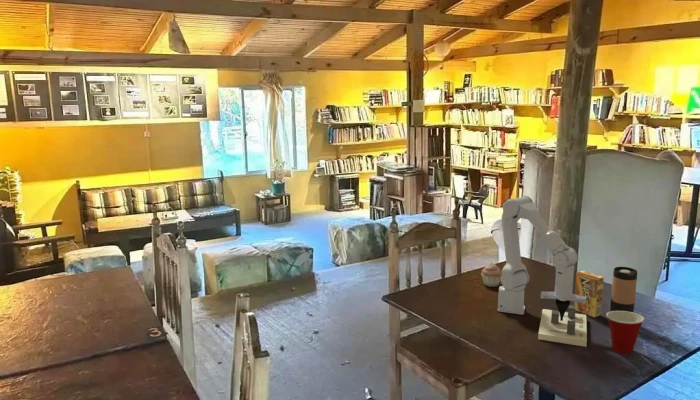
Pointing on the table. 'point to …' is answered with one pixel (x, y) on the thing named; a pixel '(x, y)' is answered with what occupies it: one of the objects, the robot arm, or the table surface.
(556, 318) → the switch
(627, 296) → the travel mug
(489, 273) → the cupcake
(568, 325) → the switch near
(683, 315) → the table surface
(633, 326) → the plastic cup
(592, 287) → the candy box
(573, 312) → the switch far
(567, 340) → the breaker panel
